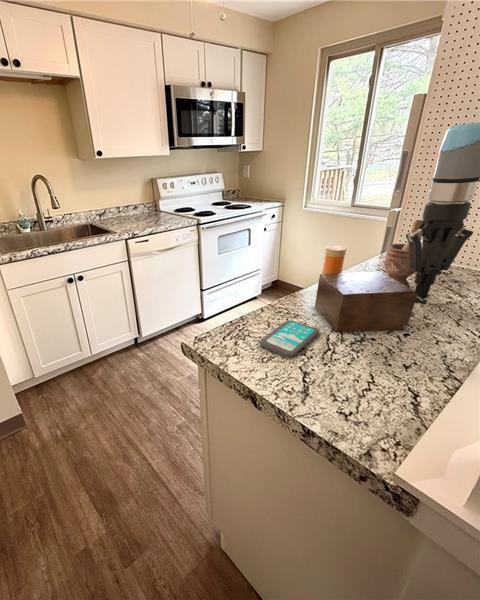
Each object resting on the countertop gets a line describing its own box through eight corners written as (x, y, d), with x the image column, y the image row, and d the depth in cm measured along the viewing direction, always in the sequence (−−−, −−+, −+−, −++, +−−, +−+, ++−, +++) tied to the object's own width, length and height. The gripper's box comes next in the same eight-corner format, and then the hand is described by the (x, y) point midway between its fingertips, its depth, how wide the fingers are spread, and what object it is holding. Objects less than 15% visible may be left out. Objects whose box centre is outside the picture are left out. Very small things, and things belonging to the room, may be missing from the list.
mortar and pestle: (378, 277, 105) (392, 218, 97) (410, 281, 100) (428, 219, 92) (378, 290, 97) (394, 226, 88) (414, 294, 92) (434, 227, 84)
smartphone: (257, 341, 76) (288, 318, 84) (257, 345, 76) (287, 321, 85) (292, 355, 70) (321, 329, 78) (291, 359, 70) (320, 332, 78)
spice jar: (337, 291, 99) (346, 245, 92) (337, 298, 95) (346, 250, 88) (319, 289, 101) (326, 245, 95) (318, 295, 97) (325, 249, 91)
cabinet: (372, 305, 89) (380, 271, 84) (403, 330, 76) (415, 291, 72) (314, 307, 91) (319, 274, 86) (335, 332, 78) (343, 294, 74)
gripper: (466, 196, 72) (436, 288, 82) (406, 201, 73) (384, 291, 83) (496, 200, 65) (460, 301, 75) (429, 206, 67) (402, 304, 77)
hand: (420, 296), depth 79 cm, fingers closed
